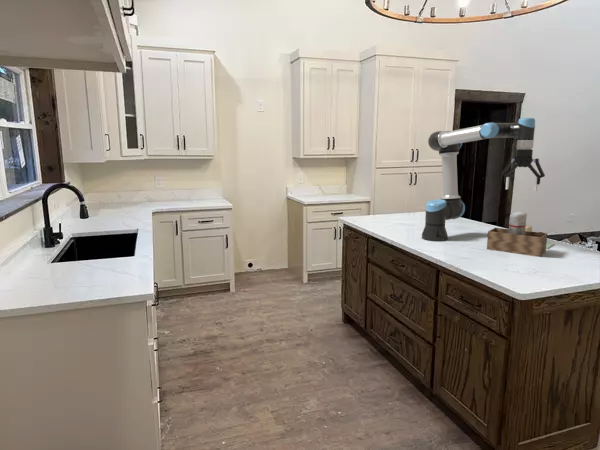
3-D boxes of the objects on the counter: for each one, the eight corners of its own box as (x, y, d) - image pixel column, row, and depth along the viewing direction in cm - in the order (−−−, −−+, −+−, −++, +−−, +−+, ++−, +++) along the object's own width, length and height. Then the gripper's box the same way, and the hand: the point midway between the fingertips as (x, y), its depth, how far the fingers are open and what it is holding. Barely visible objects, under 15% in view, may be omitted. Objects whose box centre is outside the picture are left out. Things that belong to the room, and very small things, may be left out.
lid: (498, 242, 243) (499, 225, 241) (505, 238, 251) (507, 222, 249) (547, 249, 224) (549, 231, 222) (554, 245, 233) (556, 228, 231)
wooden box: (486, 249, 226) (488, 231, 224) (493, 244, 235) (495, 227, 233) (540, 256, 209) (542, 237, 207) (545, 251, 218) (547, 233, 216)
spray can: (523, 251, 216) (527, 213, 213) (506, 249, 220) (509, 212, 217) (524, 247, 224) (527, 211, 220) (507, 246, 228) (510, 210, 224)
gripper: (496, 149, 217) (493, 189, 221) (550, 149, 201) (546, 192, 205) (500, 148, 222) (497, 188, 227) (553, 148, 206) (549, 190, 210)
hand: (520, 190), depth 216 cm, fingers open, 13 cm apart
